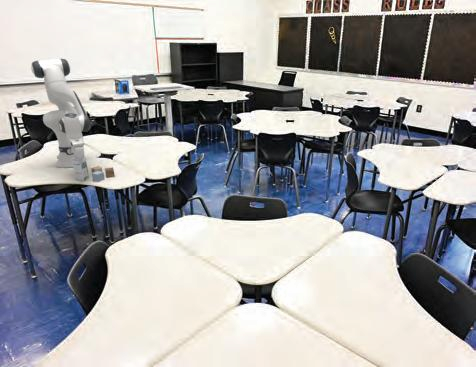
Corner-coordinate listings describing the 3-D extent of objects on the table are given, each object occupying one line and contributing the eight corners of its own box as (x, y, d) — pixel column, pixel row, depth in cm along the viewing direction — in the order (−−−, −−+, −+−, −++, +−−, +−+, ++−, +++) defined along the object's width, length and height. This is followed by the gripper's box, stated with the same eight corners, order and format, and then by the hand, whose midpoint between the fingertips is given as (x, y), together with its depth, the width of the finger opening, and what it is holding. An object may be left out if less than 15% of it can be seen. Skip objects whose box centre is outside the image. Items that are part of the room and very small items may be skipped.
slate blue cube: (92, 180, 220) (91, 173, 218) (98, 178, 224) (97, 170, 222) (98, 182, 218) (97, 174, 216) (104, 179, 222) (103, 172, 220)
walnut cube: (105, 175, 228) (104, 168, 227) (113, 174, 230) (112, 167, 229) (106, 178, 224) (105, 170, 222) (114, 176, 226) (113, 169, 224)
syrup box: (83, 180, 220) (79, 158, 214) (75, 180, 221) (71, 158, 215) (89, 177, 225) (85, 156, 220) (81, 177, 226) (77, 155, 221)
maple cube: (92, 174, 230) (90, 167, 228) (99, 172, 234) (98, 165, 232) (95, 176, 227) (94, 169, 225) (103, 174, 231) (101, 167, 229)
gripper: (66, 138, 220) (70, 159, 225) (73, 144, 204) (77, 167, 209) (77, 136, 223) (81, 157, 228) (84, 143, 208) (88, 165, 213)
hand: (79, 162), depth 219 cm, fingers closed on syrup box, 8 cm apart
